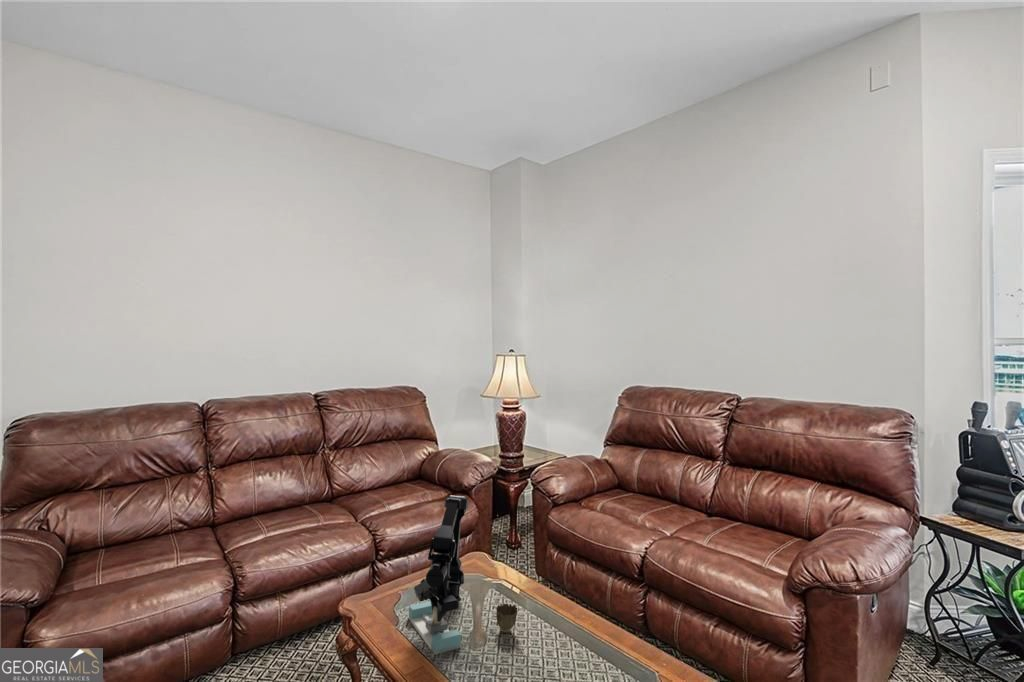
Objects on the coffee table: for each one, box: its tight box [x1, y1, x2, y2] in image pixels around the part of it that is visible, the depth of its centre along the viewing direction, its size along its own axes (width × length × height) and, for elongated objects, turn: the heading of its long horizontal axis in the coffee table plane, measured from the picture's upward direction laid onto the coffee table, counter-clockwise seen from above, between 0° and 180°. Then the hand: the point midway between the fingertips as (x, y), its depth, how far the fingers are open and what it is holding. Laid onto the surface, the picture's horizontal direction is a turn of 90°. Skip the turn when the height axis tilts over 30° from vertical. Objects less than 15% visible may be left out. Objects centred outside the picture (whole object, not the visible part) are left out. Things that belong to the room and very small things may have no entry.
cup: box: [495, 603, 518, 634], centre depth 183 cm, size 8×7×8 cm
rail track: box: [407, 600, 462, 656], centre depth 179 cm, size 9×23×4 cm, turn 32°
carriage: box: [426, 606, 449, 635], centre depth 177 cm, size 6×4×8 cm
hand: (437, 618), depth 177 cm, fingers closed on carriage, 3 cm apart
